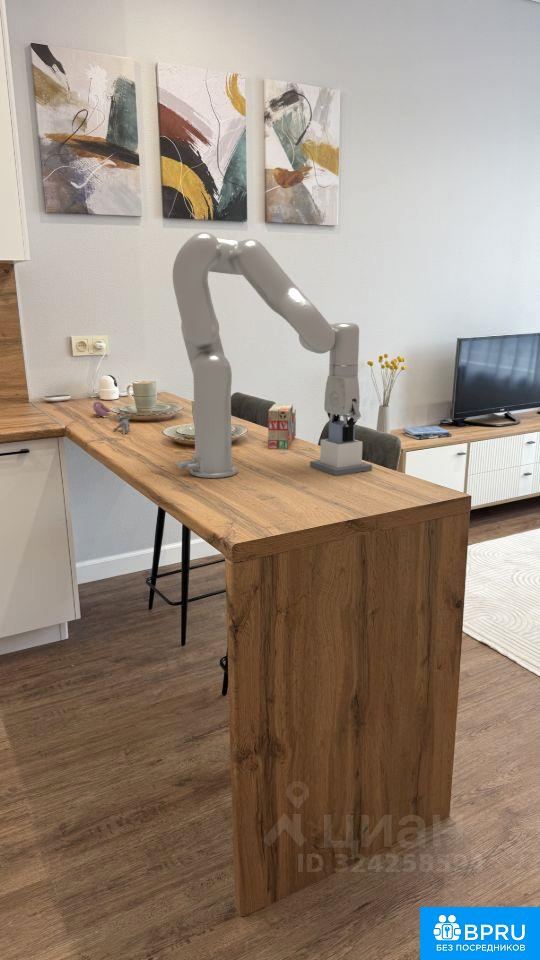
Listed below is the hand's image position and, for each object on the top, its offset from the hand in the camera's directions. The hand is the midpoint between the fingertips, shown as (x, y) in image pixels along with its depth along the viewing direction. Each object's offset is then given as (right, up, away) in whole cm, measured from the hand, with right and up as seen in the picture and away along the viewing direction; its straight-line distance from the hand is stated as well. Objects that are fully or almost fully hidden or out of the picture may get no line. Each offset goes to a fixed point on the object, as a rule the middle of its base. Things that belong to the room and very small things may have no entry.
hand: (341, 438), depth 188 cm
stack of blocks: (-15, +1, +36) cm, 39 cm away
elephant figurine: (-68, +5, +52) cm, 86 cm away
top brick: (0, -1, 0) cm, 1 cm away
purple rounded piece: (-84, +13, +83) cm, 119 cm away
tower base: (0, -8, +2) cm, 8 cm away
